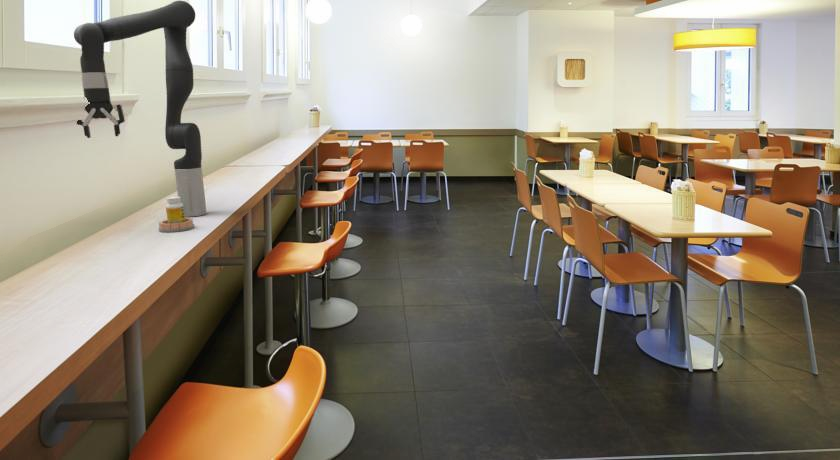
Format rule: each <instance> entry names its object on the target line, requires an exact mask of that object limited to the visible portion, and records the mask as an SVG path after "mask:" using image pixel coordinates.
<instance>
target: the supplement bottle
mask: <svg viewBox="0 0 840 460" xmlns="http://www.w3.org/2000/svg"><path fill="white" fill-rule="evenodd" d="M166 200H167V204H166V205H165V210H166V218H167V219H166V220H168V224H174V223H182V222H185V218H186V217H185V216H184V206H183V204H182V203H180V200H181V199H180V197H178V196H170V197H167V198H166Z"/></svg>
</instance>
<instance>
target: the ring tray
mask: <svg viewBox="0 0 840 460" xmlns="http://www.w3.org/2000/svg"><path fill="white" fill-rule="evenodd" d="M193 220H194V219H193V218H191V217H185V222H182V223H174V224H168V220H167V219H165V220H161V221H159V222H158V232H160V233H166V234H167V233H168V234H169V233H179V232H185V231H191V230H193V229H195V223H194V222H193Z"/></svg>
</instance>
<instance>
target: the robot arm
mask: <svg viewBox="0 0 840 460" xmlns="http://www.w3.org/2000/svg"><path fill="white" fill-rule="evenodd" d="M195 19H196V11H195V9H194V7H193V6H192V5H191V4H190V3H189V2H187V1H185V0H184V1H183V0H175V1H173V2H171V3H168V4H167V5H165V6H162V7H158V8H155V9H152V10H148V11H142V12H137V13H132V14H126V15H121V16H116V17H111V18H109V19H108V18H107V19H106V20H102V21H97V22H86V23H85V22H84V23H83V24H80V25H78V26H77V27H76V28H75V30H73V37H74V40H75V42H76V43H77V44H78V45H80V46H81V55H80V59H79V63H80V71H81V82H82V85H81V86H82V90H83V97H84V98H85V97H86V98H87V100H88V102H90V104H88V105H87V106H86V107H85V106H84V107H85V109H84V111H85V112H86V113H87V114H88V115H87V116H86V117H85V119H84V121H83V119H82V120H78V121H77V123H76V125H78V126H82V127H83V131H84V132H83V133H84V136H85V137H86V138H87V139H89V138H91V136H92V135H91V129H90V122H92V120H93V119H97V120H98V119H108V120H110V121H111V122H112V123H113V124H114V125H113V128H114V135H115V137H119V136H120V134H121V129H120V125H121V124H123V123H125V121H126V119H125V116H124V110H123V105H122V104H117V105H116V104H115V105H114V104H113V105H112V103H111V95H110V88H109V80H108V77H107V73H106V72H107V71H106V65H105V60H104V57H105V56H104V53H105V43H109V42H115V41H122V40H126V39H130V38H134V37H138V36H141V35H143V34H147V33H150V32H153V31H156V30H160V29H163V33H164V42H165V43H164V44H165V52H164V54H165V57H164V58H165V86H166V87H165V88H166V89H165V90H166V110H165V111H166V114H165V126H164V129H165V130H164V133H165V141H166V144H167V146H168V147H169V149H172V150H185V154H184V155H183V156H182V157H180V158H178V159H176V160H174V161H173V166H174V167H173V168H174V177H175V183H176V190H177V192H176V193H177V197H180V199H181V200H180V203H182V204H183V206H184V216H185V218H191V217H198V216H204V215H206V214H207V206H206V197H205V195H206V194H205V187H204V179H203V178H204V177H203V168H202V160H203V159H202V158H203V153H202V138H201V137H202V136H201V132H200V129H199V126H198V125H197V124H196V123H193V122H182V120H181V119H182V113H183V108H184V106H185V104H186V102H187V101H188V99H189V98H190V96H191V93H192V92H193V89H194V66H193V63H192V60H191V58H190V55H189V52H188V46H187V31H188V28H189V27H191V25H192V24H194V23H195ZM113 109H114V110H115V112H117V114H118V119H116V117H115V116H114V115H113V114H112V111H113Z"/></svg>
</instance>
